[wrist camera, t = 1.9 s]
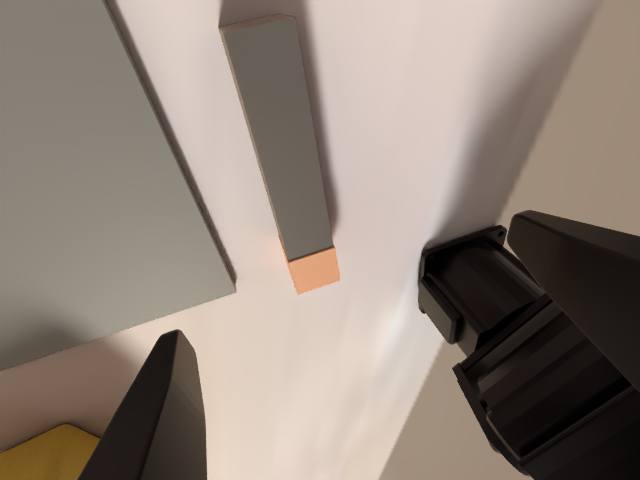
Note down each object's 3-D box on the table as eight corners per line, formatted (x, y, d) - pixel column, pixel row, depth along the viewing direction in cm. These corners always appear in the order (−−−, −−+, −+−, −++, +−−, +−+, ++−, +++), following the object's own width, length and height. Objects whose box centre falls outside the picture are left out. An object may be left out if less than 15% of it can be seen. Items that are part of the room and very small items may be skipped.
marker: (281, 13, 13) (297, 17, 11) (326, 253, 21) (340, 279, 19) (216, 27, 12) (221, 33, 10) (287, 265, 20) (297, 294, 18)
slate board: (85, -45, 10) (80, -47, 10) (235, 285, 20) (236, 292, 19) (-452, 48, 8) (-488, 52, 8) (-3, 363, 18) (-8, 373, 17)
